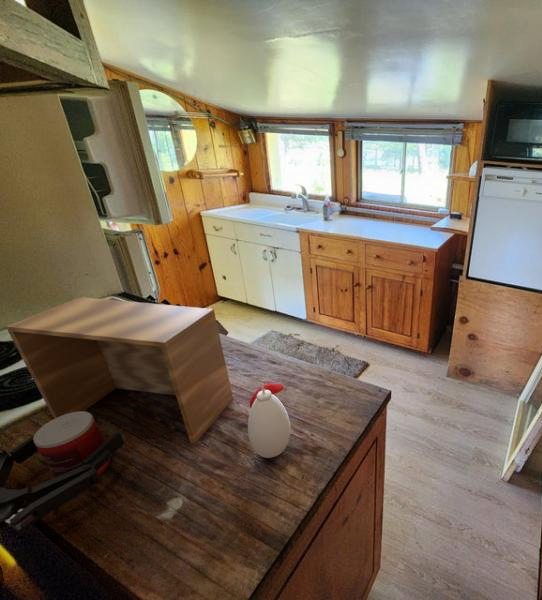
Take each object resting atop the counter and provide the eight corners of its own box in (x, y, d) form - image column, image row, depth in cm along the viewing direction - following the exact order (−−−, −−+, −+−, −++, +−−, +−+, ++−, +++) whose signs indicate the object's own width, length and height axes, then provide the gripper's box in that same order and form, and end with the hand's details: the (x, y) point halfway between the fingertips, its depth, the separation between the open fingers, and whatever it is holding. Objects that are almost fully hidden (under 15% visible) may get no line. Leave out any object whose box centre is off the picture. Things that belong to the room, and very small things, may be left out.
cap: (260, 423, 74) (256, 402, 72) (246, 410, 77) (242, 390, 75) (290, 404, 80) (287, 384, 78) (276, 393, 83) (273, 374, 81)
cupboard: (57, 426, 71) (5, 326, 61) (115, 385, 84) (80, 296, 73) (195, 444, 68) (164, 342, 58) (233, 398, 81) (213, 309, 71)
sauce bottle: (253, 442, 69) (240, 373, 62) (291, 433, 72) (283, 366, 64) (252, 473, 63) (237, 400, 55) (294, 462, 65) (285, 391, 58)
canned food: (106, 446, 67) (87, 404, 62) (117, 468, 62) (97, 426, 58) (54, 471, 61) (29, 427, 57) (62, 497, 57) (35, 453, 52)
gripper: (-136, 562, 45) (36, 440, 64) (26, 590, 43) (154, 455, 62) (-173, 528, 42) (20, 411, 61) (0, 557, 40) (142, 426, 59)
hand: (88, 433), depth 62 cm, fingers open, 13 cm apart
